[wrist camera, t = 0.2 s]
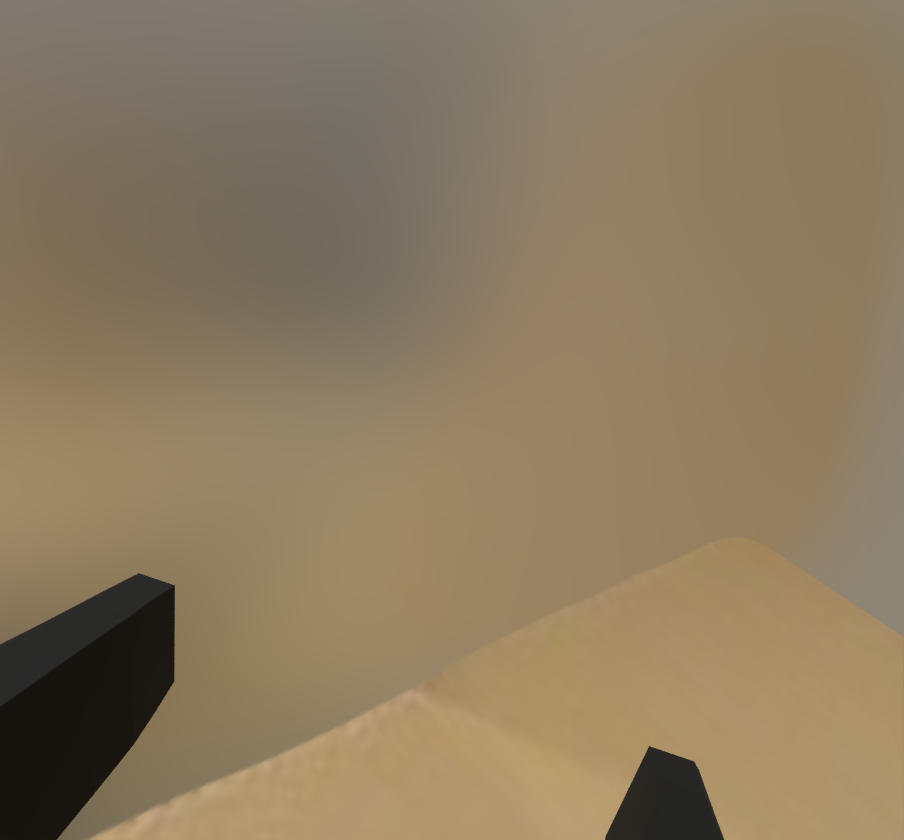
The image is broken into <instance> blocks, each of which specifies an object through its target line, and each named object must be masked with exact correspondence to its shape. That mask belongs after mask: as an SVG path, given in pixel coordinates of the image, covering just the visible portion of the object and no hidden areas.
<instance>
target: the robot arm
mask: <svg viewBox="0 0 904 840" xmlns="http://www.w3.org/2000/svg"><path fill="white" fill-rule="evenodd" d="M174 611H175V586H174V585H172V584H169V583H166V582H163V581H160V580H157V579H154V578H151V577H148V576H145V575H142V574H137V575H135V576H133V577H131V578H129V579H127V580H125V581H123V582H121V583H119V584H117V585H115V586H113V587H111V588H109V589H107V590H106V591H103V592H101V593H99V594H97V595H95V596H94V597H92V598H90V599H88V600H86V601H84V602H82V603H80V604H78V605H76V606H75V607H72V608H71V609H69V610H67V611H65V612H63V613H61V614H59V615H57V616H55V617H53V618H51V619H50V620H48V621H46V622H44V623H42V624H40V625H38V626H36V627H34V628H32V629H30V630H28V631H26V632H24V633H22V634H20V635H18V636H16V637H14V638H12V639H10V640H8V641H6V642H4V643H2V644H0V840H57V839H58V837H59V836H60V835H61V834H62V832H63V831H64V830H65V829H66V828H67V826H68V825H69V824H70V822H71V821H72V820H73V819H74V817H76V815H77V814H78V812H80V810H81V809H82V808H83V807H84V806H85V804H86V803H87V802H88V801H89V799H90V798H91V797H92V796H93V795H94V793H95V792H96V791H97V790H98V788H99V787H100V786H101V785H102V783H103V782H104V781H105V779H106V778H107V777H108V776H109V775H110V773H111V772H112V771H113V770H114V768H115V767H116V766H117V765H118V764H119V762H120V761H121V760H122V758H123V757H124V756H125V755H126V753H127V752H128V751H129V750H130V748H131V747H132V746H133V745H134V743H135V742H136V740H137V739H138V737H139V736H140V734H141V732H142V731H143V730H144V728H145V727H146V725H147V723H148V722H149V721H150V719H151V717H152V716H153V714H154V713H155V711H156V710H157V708H158V706H159V705H160V703H161V702H162V700H163V698H164V697H165V695H166V694H167V692H168V690H169V689H170V687H171V686H172V684H173V683H174V626H175V624H174V623H175V622H174V620H175V618H174V617H175V614H174V613H175V612H174ZM605 840H724V838H723V835H722V833H721V830H720V827H719V825H718V822H717V819H716V816H715V814H714V811H713V808H712V806H711V803H710V800H709V797H708V794H707V792H706V789H705V786H704V783H703V780H702V777H701V775H700V772H699V769H698V768H697V766H696V764H695V762H694V761H691V760H688V759H685V758H682V757H679V756H676V755H673V754H670V753H667V752H664V751H662V750H659V749H656V748H653V747H650V746H649V748H648V750H647V752H646V754H645V756H644V758H643V760H642V762H641V764H640V766H639V768H638V771H637V773H636V775H635V777H634V779H633V781H632V783H631V785H630V787H629V789H628V791H627V793H626V795H625V797H624V800H623V802H622V804H621V806H620V808H619V810H618V812H617V814H616V816H615V818H614V820H613V822H612V824H611V827H610V829H609V831H608V833H607V835H606V838H605Z"/></svg>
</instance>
